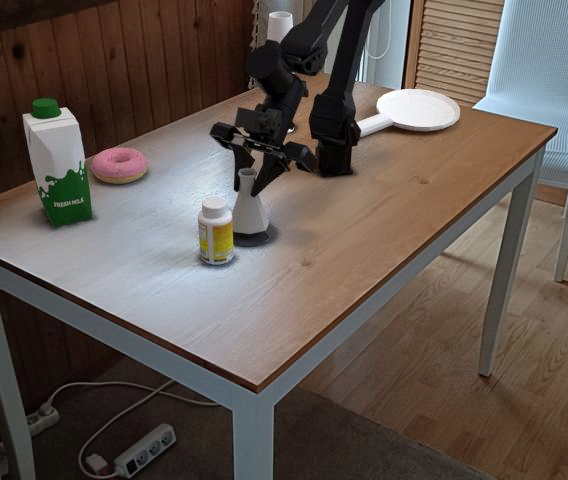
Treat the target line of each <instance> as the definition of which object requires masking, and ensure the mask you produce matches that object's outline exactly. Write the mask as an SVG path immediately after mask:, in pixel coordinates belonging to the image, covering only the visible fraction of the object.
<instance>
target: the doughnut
mask: <svg viewBox="0 0 568 480" xmlns="http://www.w3.org/2000/svg"><path fill="white" fill-rule="evenodd" d="M148 164H149V163H148V160H147V157H146V156H145V154H143V153H142V151H139V150H138V149H135V148H131V147H121V146H120V147H119V146H118V147H112V148H108V149H106V148H105V149H104V150H101V151H100V152H99V153H97V154H96V155H95V156H94V157H93V159H92V162H90V168H91V170H92V172H93V175H94V176H95V177H96V178H97V179H99V180H100V181H102V182H105V183H107V184H115V185H116V184H117V185H119V184H122V185H123V184H128V183H129V184H130V183H133V182H135V181H138V180H139V179H141V178H142V177H143V176H144V175H145V174H146V172H147V170H148Z"/></svg>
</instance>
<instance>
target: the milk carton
mask: <svg viewBox="0 0 568 480" xmlns="http://www.w3.org/2000/svg"><path fill="white" fill-rule="evenodd" d="M32 110H33V111H31V112H28V113H23V114H22V121H23V128H24V133H25V138H26V143H27V148H28V149H27V150H28V154H29V158H30V163H31V168H32V173H33V177H34V182H35V186H36V191H37V193H38V197H39V199H40V201H41V204H42V207H43V209H44V212H45V213H46V215H47V217H48V219H49V221H50V222H51V225H52V226H53V227H54V228H56V227H60V226H61V227H62V226H65V225H70V224H76V223H79V222H84V221H88V220H92V219H93V211H92V201H91V200H92V199H91V198H92V197H91V188H90V181H89V175H88V168H87V162H86V158H85V157H86V156H85V151H84V145H83V140H82V134H81V130H80V124H79V122H78V120H77V118H76V116H75V115H73V113H72V112H71V111H70V110H69V109H68V107H67V106H66V107H59V106H58V101H57V99H55V98H52V97H42V98H37V99H35V100H34V101H32Z"/></svg>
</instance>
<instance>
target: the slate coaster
mask: <svg viewBox="0 0 568 480" xmlns="http://www.w3.org/2000/svg"><path fill="white" fill-rule="evenodd" d="M274 236H275V229H274V227H273V226H272V225H271V223H269V224H268V226H267V228H266V230H265V231H261V232H257V233H252V234H247V233H239V232H234V231H233V246H238V247H244V248H250V247H259V246H262V245H265V244H267V243H269V242H270V241H271V240H272V239H273V238H274Z"/></svg>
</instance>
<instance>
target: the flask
mask: <svg viewBox="0 0 568 480" xmlns="http://www.w3.org/2000/svg"><path fill="white" fill-rule="evenodd" d="M238 175H239V176H240V187H239V191H238V192H237V193H238V194H237V197H236V200H235V202H234V206H233V209H232V211H231V214H232V225H233V231H234V232H239V233H247V234H252V233H257V232H261V231H265V230H266V228H267V226H268V224H270V220H269V218H268V215H267V213H266V211H265V208H264V206H263V203H262V200H261V198H260V194H258V195H257V196H256V197H255V198H253V197H252V196H251V195H250V194H251V191H252V188H253V185H254V183H255V180H256V178H257V176H258V170H256V168H253V167H252V168H244V169H240V170H239V172H238Z"/></svg>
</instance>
